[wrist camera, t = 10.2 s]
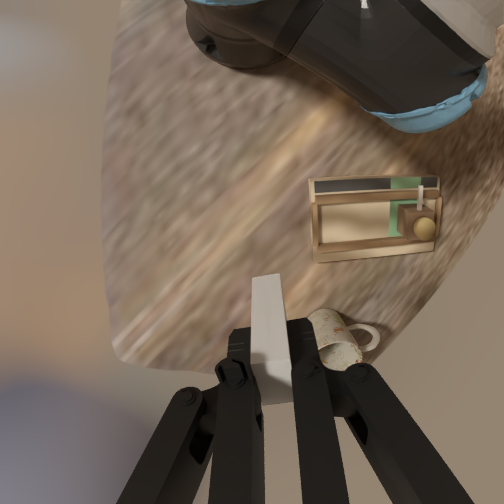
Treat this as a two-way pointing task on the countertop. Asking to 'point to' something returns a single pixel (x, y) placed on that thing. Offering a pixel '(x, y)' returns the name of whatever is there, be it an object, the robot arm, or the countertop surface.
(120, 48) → the countertop surface
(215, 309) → the countertop surface
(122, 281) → the countertop surface
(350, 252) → the tuner board
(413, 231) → the slider knob
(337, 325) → the mug
